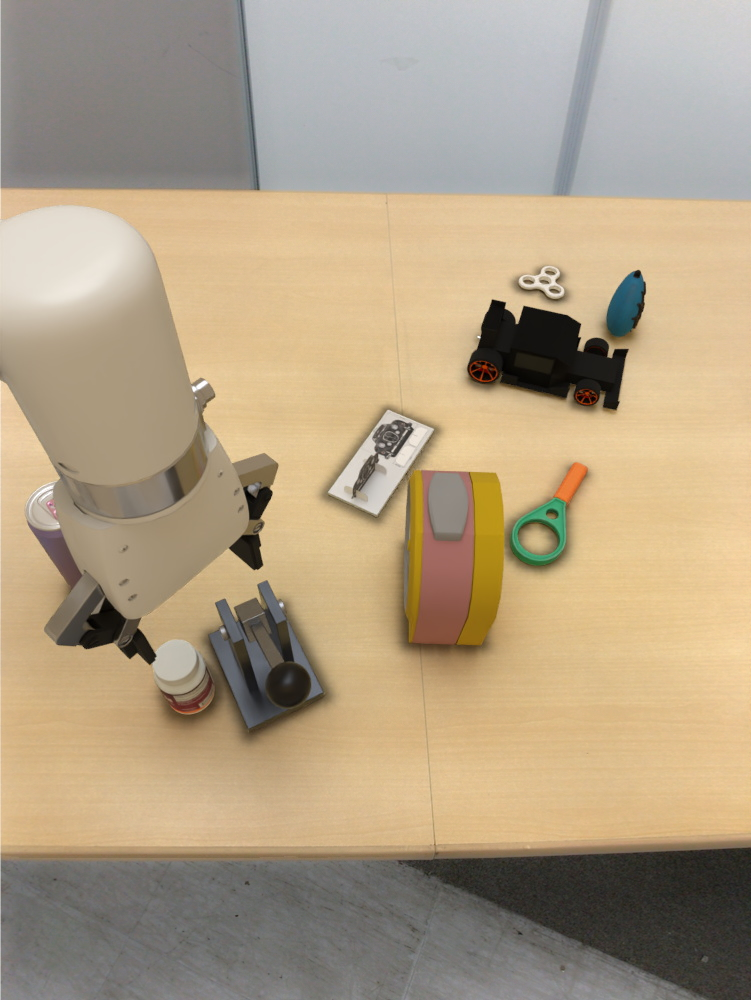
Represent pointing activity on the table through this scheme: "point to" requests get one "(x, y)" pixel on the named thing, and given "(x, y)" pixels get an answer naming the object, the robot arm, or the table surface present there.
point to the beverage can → (50, 532)
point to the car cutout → (381, 463)
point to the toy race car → (546, 356)
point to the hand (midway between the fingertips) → (194, 601)
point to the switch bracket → (258, 660)
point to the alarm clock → (453, 556)
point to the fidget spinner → (544, 287)
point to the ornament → (626, 305)
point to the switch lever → (274, 659)
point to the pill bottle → (183, 677)
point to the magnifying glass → (539, 515)
